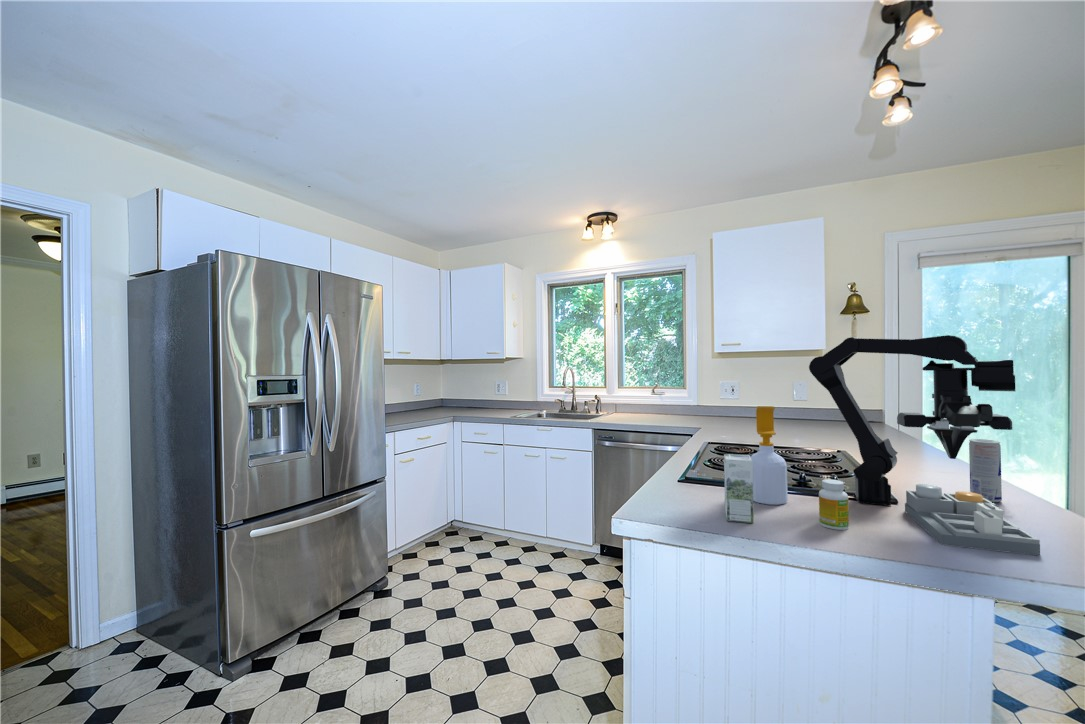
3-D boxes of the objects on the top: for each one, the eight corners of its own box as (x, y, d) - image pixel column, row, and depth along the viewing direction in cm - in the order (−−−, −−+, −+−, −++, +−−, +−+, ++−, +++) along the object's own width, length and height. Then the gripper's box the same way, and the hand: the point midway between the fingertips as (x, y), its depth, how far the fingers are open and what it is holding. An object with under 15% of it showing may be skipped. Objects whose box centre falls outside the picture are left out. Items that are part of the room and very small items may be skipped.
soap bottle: (749, 503, 113) (747, 407, 113) (747, 493, 121) (745, 403, 121) (789, 507, 109) (787, 407, 109) (784, 496, 118) (782, 404, 118)
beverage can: (1008, 503, 108) (1006, 442, 108) (981, 503, 109) (979, 442, 109) (990, 496, 113) (988, 438, 113) (964, 496, 114) (963, 438, 114)
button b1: (920, 502, 99) (920, 488, 99) (913, 497, 103) (912, 483, 103) (945, 504, 97) (945, 490, 97) (937, 498, 101) (936, 485, 101)
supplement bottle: (841, 532, 93) (840, 486, 93) (814, 524, 98) (813, 480, 98) (853, 526, 96) (852, 482, 96) (827, 519, 101) (825, 476, 101)
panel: (942, 544, 86) (941, 518, 86) (905, 511, 105) (904, 490, 104) (1040, 555, 80) (1039, 528, 80) (982, 518, 99) (982, 495, 99)
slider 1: (986, 526, 89) (986, 507, 89) (976, 520, 92) (976, 501, 92) (1003, 528, 88) (1003, 508, 88) (992, 521, 91) (992, 502, 91)
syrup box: (751, 515, 104) (749, 454, 104) (754, 524, 99) (752, 459, 99) (725, 513, 106) (723, 453, 106) (726, 522, 101) (725, 458, 101)
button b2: (961, 510, 96) (960, 496, 96) (951, 504, 100) (951, 490, 100) (987, 513, 95) (987, 498, 95) (977, 506, 99) (976, 492, 99)
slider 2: (984, 536, 84) (984, 515, 84) (974, 528, 88) (973, 508, 88) (1002, 537, 83) (1001, 517, 83) (990, 530, 87) (990, 510, 87)
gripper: (912, 392, 97) (914, 463, 97) (1027, 393, 90) (1029, 469, 90) (895, 389, 108) (897, 453, 108) (997, 389, 100) (998, 458, 100)
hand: (952, 458), depth 101 cm, fingers closed
